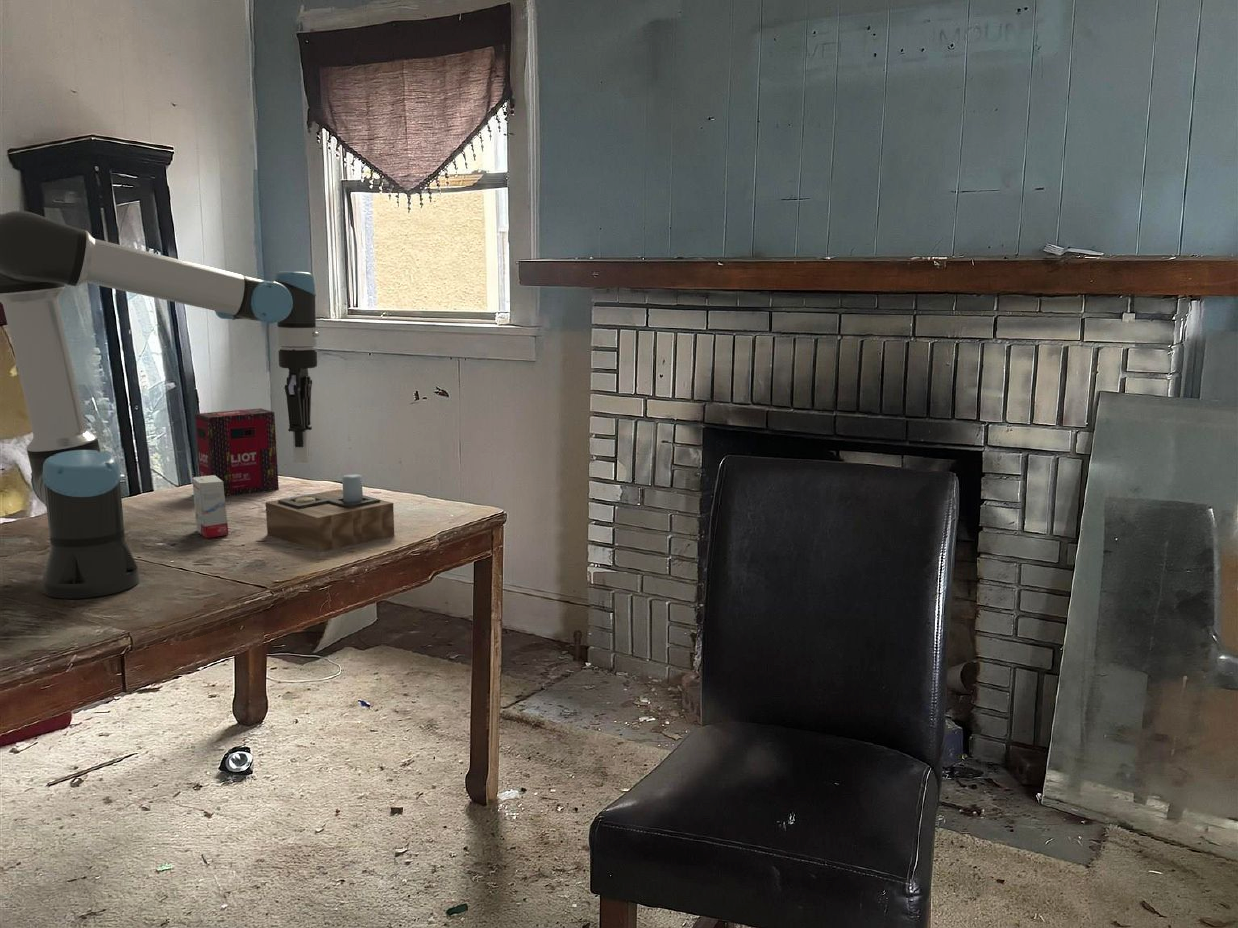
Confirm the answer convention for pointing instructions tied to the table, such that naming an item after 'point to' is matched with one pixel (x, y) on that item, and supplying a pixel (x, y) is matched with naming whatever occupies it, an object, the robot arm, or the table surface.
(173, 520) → the table surface
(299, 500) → the birch peg rear
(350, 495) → the slate peg front
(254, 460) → the box
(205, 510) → the ink box
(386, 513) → the walnut block
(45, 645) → the table surface
